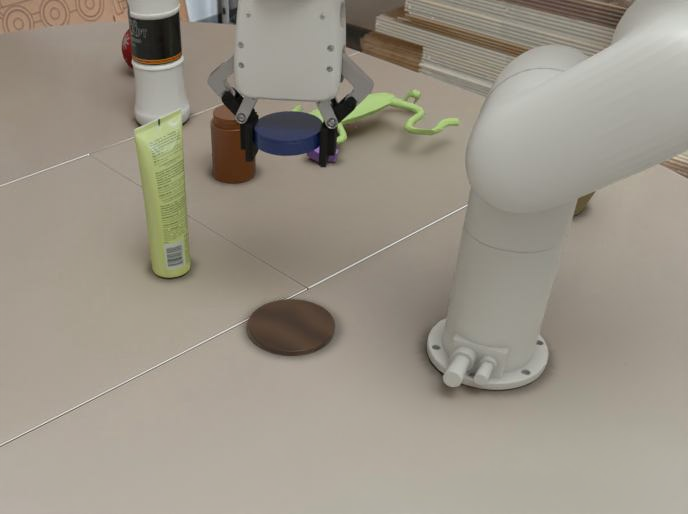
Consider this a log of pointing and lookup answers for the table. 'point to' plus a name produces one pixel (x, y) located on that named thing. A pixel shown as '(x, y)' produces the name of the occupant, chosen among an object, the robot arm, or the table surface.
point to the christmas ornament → (127, 49)
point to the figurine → (376, 104)
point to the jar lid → (287, 133)
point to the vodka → (157, 59)
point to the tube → (164, 193)
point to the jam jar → (228, 149)
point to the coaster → (291, 327)
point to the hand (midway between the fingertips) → (288, 157)
